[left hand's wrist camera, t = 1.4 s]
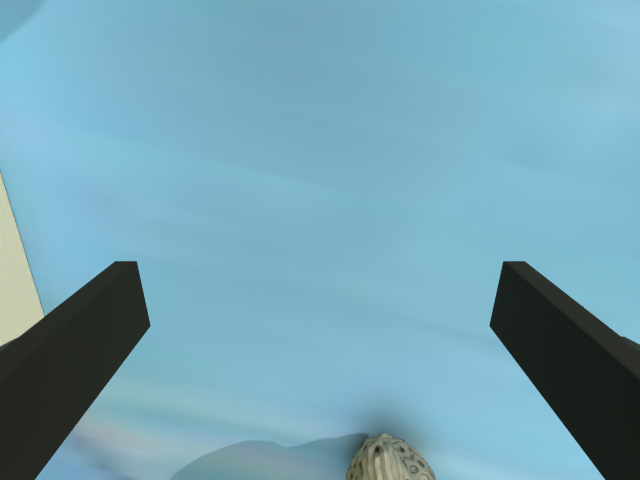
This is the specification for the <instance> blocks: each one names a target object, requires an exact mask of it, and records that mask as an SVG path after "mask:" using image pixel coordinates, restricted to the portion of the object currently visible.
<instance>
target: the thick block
mask: <svg viewBox="0 0 640 480" xmlns="http://www.w3.org/2000/svg"><path fill="white" fill-rule="evenodd" d="M42 318H44V313H43V310H42V307H41V304H40V300H39V297H38V294H37V291H36V287H35V284H34V281H33V278H32V274H31V271H30V268H29V265H28V261H27V258H26V255H25V252H24V248H23V245H22V242H21V239H20V235H19V232H18V229H17V225H16V222H15V219H14V216H13V212H12V209H11V206H10V203H9V199H8V196H7V193H6V190H5V186H4V183H3V180H2V177H1V173H0V346H2V345H4V344H6V343H7V342H9V341H11V340H13V339H15V338H18V337H19V336H21V335H22V334H23V333H24V332H26V331H27V330H28V329H30V328H31V327H32V326H33V325H35V324H36V323H37V322H38V321H40V320H41V319H42Z"/></svg>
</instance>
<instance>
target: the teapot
mask: <svg viewBox="0 0 640 480" xmlns="http://www.w3.org/2000/svg"><path fill="white" fill-rule="evenodd" d="M346 480H436V478H435V475H434V473H433V471H432V469H431V468H430V466H429V465H428V463H427V462H426V461H425V460H424V458H422V457H421V456H420V455H419V453H418V452H417V451H416V450H415V449H414V448H413V447H412V446H410V445H408V444H407V443H405V441H404V440H401V439H397V438H395V437H392V436H390V435H388V434H386V433H381V434H379V435H377V436H376V437H374V438H371V437H368V438H366V440H365V442H364V444H363V446H362V447H361V448H360V449H359V450H358V452H357V453H356V454H355V456H354V458H353V459H352V461H351V463H350V468H349V469H348V470H347V474H346Z"/></svg>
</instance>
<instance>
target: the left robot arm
mask: <svg viewBox="0 0 640 480" xmlns="http://www.w3.org/2000/svg"><path fill="white" fill-rule="evenodd" d="M149 327H150V321H149V316H148V312H147V307H146V303H145V298H144V293H143V289H142V284H141V279H140V275H139V270H138V265H137V261H115V262H114V263H113V264H111V265H110V266H109V267H107V268H106V269H105V270H104V271H102V272H101V273H100V274H98V275H97V276H96V277H95V278H93V279H92V280H91V281H90V282H88V283H87V284H86V285H84V286H83V287H82V288H81V289H79V290H78V291H77V292H76V293H74V294H73V295H72V296H70V297H69V298H68V299H67V300H65V301H64V302H63V303H61V304H60V305H59V306H58V307H56V308H55V309H54V310H53V311H51V312H50V313H49V314H47V315H46V316H45V317H44V318H42V319H41V320H40V321H38V322H37V323H36V324H35V325H33V326H32V327H31V328H30V329H28V330H27V331H26V332H24V333H23V334H22V335H21V336H19V337H18V338H15V339H13V340H11V341H9V342H7V343H6V344H4V345H2V346H0V480H35V479H36V477H37V476H38V475H39V473H40V472H41V471H42V469H43V468H44V467H45V465H46V464H47V463H48V461H49V460H50V459H51V457H52V456H53V455H54V453H55V452H56V451H57V449H58V448H59V447H60V445H61V444H62V443H63V441H64V440H65V439H66V437H67V436H68V435H69V433H70V432H71V431H72V429H73V428H74V427H75V425H76V424H77V423H78V421H79V420H80V419H81V417H82V416H83V415H84V414H85V412H86V411H87V410H88V408H89V407H90V406H91V404H92V403H93V402H94V400H95V399H96V398H97V396H98V395H99V394H100V392H101V391H102V390H103V388H104V387H105V386H106V384H107V383H108V382H109V380H110V379H111V378H112V376H113V375H114V374H115V372H116V371H117V370H118V368H119V367H120V366H121V364H122V363H123V362H124V360H125V359H126V358H127V356H128V355H129V354H130V352H131V351H132V350H133V348H134V347H135V346H136V345H137V343H138V342H139V341H140V339H141V338H142V337H143V335H144V334H145V333H146V331H147V330H148V329H149ZM490 327H491V329H492V330H493V331H494V333H495V334H496V335H497V337H498V338H499V339H500V341H501V342H502V343H503V345H504V346H505V347H506V348H507V350H508V351H509V352H510V354H511V355H512V356H513V358H514V359H515V360H516V362H517V363H518V364H519V366H520V367H521V368H522V370H523V371H524V372H525V374H526V375H527V376H528V378H529V379H530V380H531V382H532V383H533V384H534V386H535V387H536V388H537V390H538V391H539V392H540V394H541V395H542V396H543V398H544V399H545V400H546V402H547V403H548V404H549V406H550V407H551V408H552V410H553V411H554V412H555V414H556V415H557V416H558V417H559V419H560V420H561V421H562V423H563V424H564V425H565V427H566V428H567V429H568V431H569V432H570V433H571V435H572V436H573V437H574V439H575V440H576V441H577V443H578V444H579V445H580V447H581V448H582V449H583V451H584V452H585V453H586V455H587V456H588V457H589V459H590V460H591V461H592V463H593V464H594V465H595V467H596V468H597V469H598V471H599V472H600V473H601V475H602V476H603V477H604V479H605V480H640V345H639V344H637V343H635V342H634V341H632V340H630V339H628V338H626V337H621V336H619V335H618V334H617V333H616V332H614V331H613V330H612V329H610V328H609V327H608V326H607V325H605V324H604V323H603V322H602V321H600V320H599V319H598V318H596V317H595V316H594V315H593V314H591V313H590V312H589V311H587V310H586V309H585V308H584V307H582V306H581V305H580V304H579V303H577V302H576V301H575V300H573V299H572V298H571V297H570V296H568V295H567V294H566V293H564V292H563V291H562V290H561V289H559V288H558V287H557V286H556V285H554V284H553V283H552V282H550V281H549V280H548V279H547V278H545V277H544V276H543V275H542V274H540V273H539V272H538V271H536V270H535V269H534V268H533V267H531V266H530V265H529V264H527V263H526V262H525V261H503V265H502V270H501V275H500V279H499V284H498V289H497V293H496V298H495V302H494V307H493V312H492V316H491V321H490Z"/></svg>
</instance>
